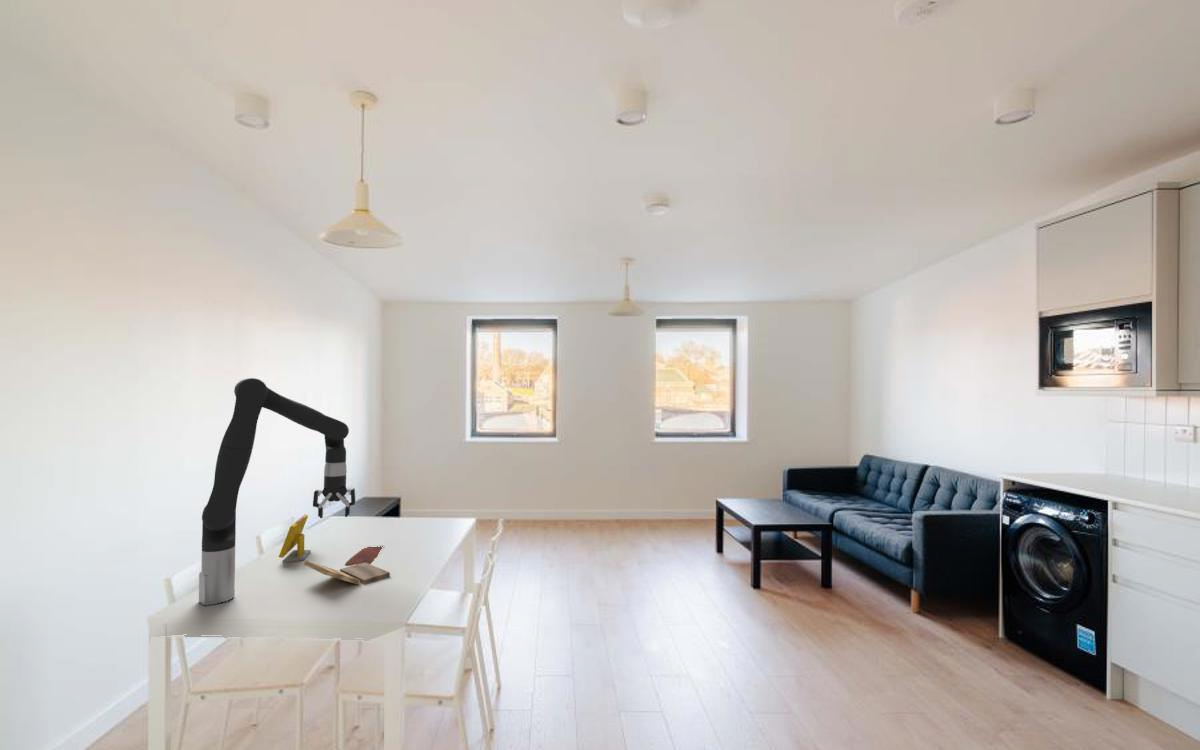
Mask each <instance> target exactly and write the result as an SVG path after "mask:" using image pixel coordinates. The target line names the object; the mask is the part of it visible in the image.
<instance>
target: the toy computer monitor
mask: <svg viewBox="0 0 1200 750" xmlns="http://www.w3.org/2000/svg"><path fill="white" fill-rule="evenodd" d="M308 517H309V515H308V514H303V515H302V516H301V517H300V518H298V519H297V520H296V521H294V523H293V524H291V525H290V526H289V529H288V532H287V534H286V536H285V539H284V542H283V544H282V547H281V549H280V553H279V555H278V558H281V559H283V560H282V562H281V563H283V562H285V563H293V562H300V561H301V562H302V561H304V560H305V559H306V558H307V557H308V556H309V555H310V554H311V549H305V534H304V533H303V530H304V527H305V525H306V523H307V520H308ZM296 546H297V547H296ZM294 547H296V549H294ZM291 550H292V551H291ZM284 557H285V558H284ZM292 561H293V562H292Z"/></svg>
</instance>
